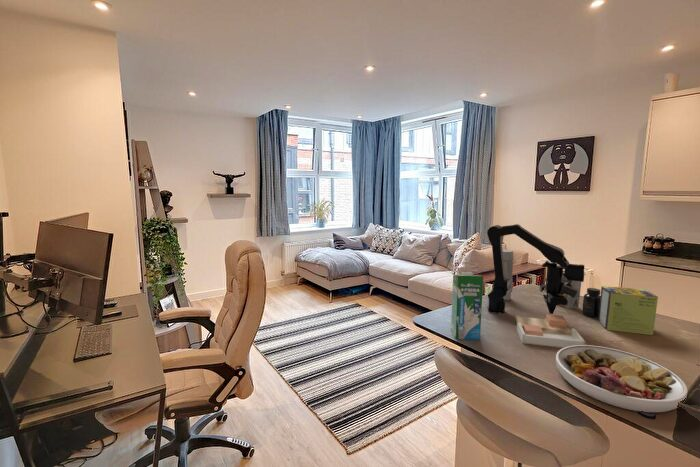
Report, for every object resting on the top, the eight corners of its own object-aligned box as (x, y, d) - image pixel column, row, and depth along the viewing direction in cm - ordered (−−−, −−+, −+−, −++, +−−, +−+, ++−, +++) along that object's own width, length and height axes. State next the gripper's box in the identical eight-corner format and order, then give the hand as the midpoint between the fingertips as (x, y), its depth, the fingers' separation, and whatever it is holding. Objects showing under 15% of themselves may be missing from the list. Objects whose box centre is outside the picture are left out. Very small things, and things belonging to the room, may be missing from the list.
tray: (522, 343, 126) (522, 335, 125) (516, 329, 137) (517, 322, 137) (585, 350, 120) (585, 342, 119) (574, 336, 131) (574, 328, 131)
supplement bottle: (604, 318, 148) (607, 291, 146) (588, 318, 148) (591, 291, 146) (593, 312, 155) (596, 286, 153) (578, 312, 155) (580, 286, 153)
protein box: (653, 335, 131) (659, 296, 129) (606, 330, 136) (610, 292, 134) (641, 324, 141) (645, 288, 139) (597, 320, 146) (600, 285, 144)
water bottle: (491, 297, 176) (494, 249, 172) (504, 295, 178) (507, 248, 175) (504, 303, 167) (507, 253, 164) (517, 301, 170) (521, 252, 166)
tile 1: (525, 336, 130) (525, 330, 130) (522, 330, 136) (522, 324, 136) (543, 338, 129) (543, 332, 128) (539, 331, 134) (539, 325, 134)
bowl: (562, 349, 121) (564, 329, 120) (678, 380, 103) (682, 355, 101) (546, 389, 98) (548, 364, 97) (692, 437, 80) (697, 406, 78)
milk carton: (473, 329, 137) (476, 269, 134) (480, 340, 129) (483, 275, 125) (450, 329, 138) (453, 269, 135) (455, 339, 129) (458, 275, 126)
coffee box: (552, 302, 168) (555, 270, 165) (563, 301, 169) (566, 270, 167) (568, 309, 159) (571, 275, 156) (579, 308, 160) (582, 274, 158)
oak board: (519, 330, 137) (519, 325, 136) (515, 320, 146) (515, 316, 146) (571, 335, 131) (571, 331, 131) (563, 325, 141) (563, 321, 141)
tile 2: (549, 325, 136) (549, 319, 136) (545, 320, 142) (545, 314, 141) (566, 327, 134) (566, 321, 134) (561, 321, 140) (562, 315, 140)
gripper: (584, 286, 131) (580, 324, 133) (569, 273, 149) (566, 307, 151) (551, 283, 134) (548, 321, 137) (540, 271, 152) (538, 305, 154)
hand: (551, 313), depth 145 cm, fingers closed
